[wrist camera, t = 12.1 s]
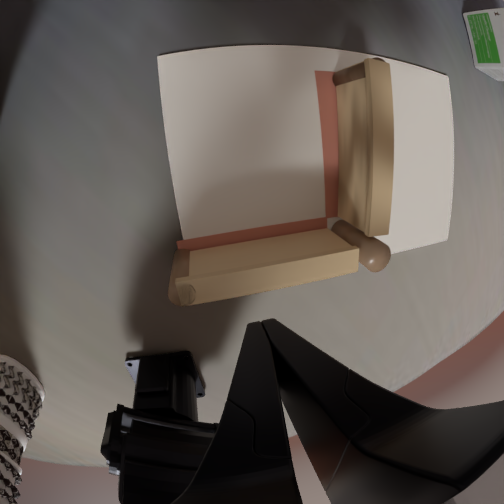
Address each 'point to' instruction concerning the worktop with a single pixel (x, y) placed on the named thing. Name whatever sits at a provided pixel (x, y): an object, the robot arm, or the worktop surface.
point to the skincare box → (487, 40)
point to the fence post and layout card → (289, 168)
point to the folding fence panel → (365, 145)
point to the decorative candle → (15, 421)
